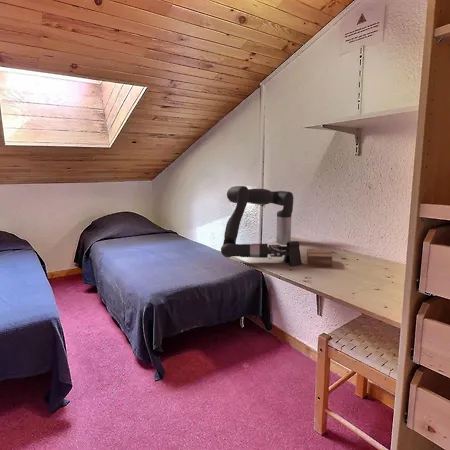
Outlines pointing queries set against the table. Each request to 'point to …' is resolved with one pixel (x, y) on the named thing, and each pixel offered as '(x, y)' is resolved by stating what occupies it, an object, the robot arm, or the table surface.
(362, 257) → the table surface
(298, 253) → the phone stand
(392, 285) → the table surface
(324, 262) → the walnut block
